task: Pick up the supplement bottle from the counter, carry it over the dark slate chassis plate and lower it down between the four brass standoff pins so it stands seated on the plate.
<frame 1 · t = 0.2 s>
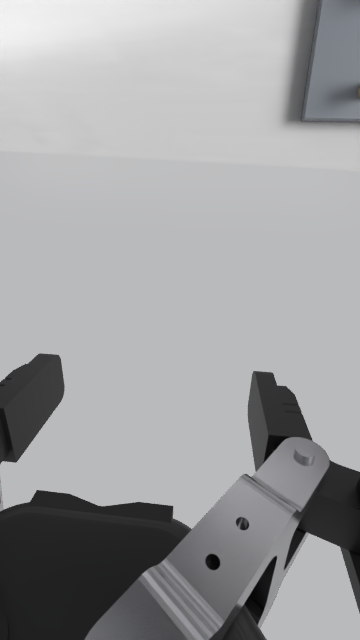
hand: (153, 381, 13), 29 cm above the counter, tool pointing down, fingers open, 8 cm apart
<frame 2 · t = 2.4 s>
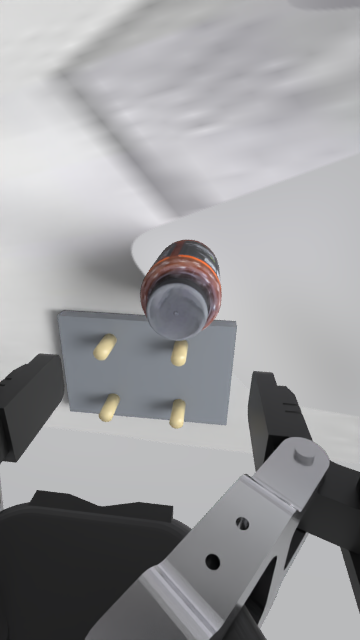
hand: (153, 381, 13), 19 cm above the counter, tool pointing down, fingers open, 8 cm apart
supplement bottle: (188, 269, 30), on the counter
chassis plate: (148, 365, 35), on the counter
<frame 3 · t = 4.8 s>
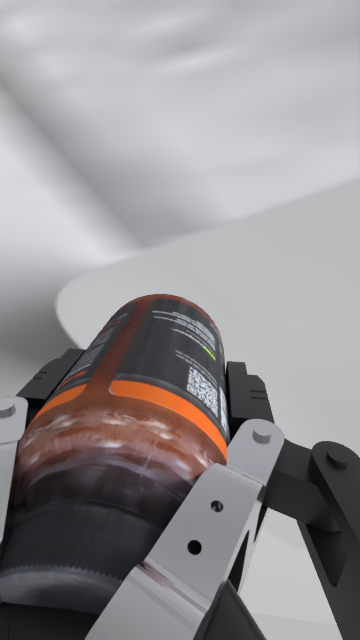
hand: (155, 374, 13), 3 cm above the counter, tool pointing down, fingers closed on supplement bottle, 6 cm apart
supplement bottle: (165, 344, 16), on the counter, touching gripper
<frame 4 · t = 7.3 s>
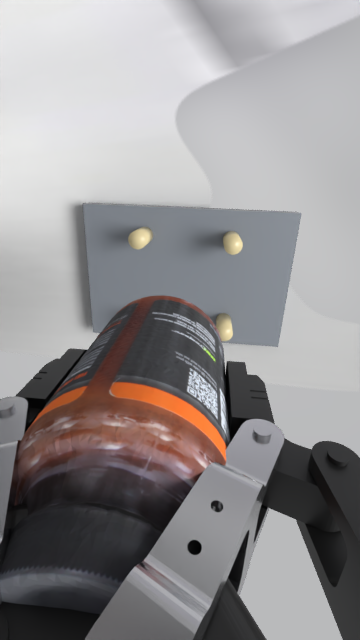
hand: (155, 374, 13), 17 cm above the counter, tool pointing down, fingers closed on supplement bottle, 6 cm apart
supplement bottle: (165, 345, 16), point 15 cm above the counter, touching gripper
chassis plate: (187, 275, 29), on the counter
when the fingers open (5 cm above the counter, at t = 10.0 s): supplement bottle stays where it is, resting on chassis plate.
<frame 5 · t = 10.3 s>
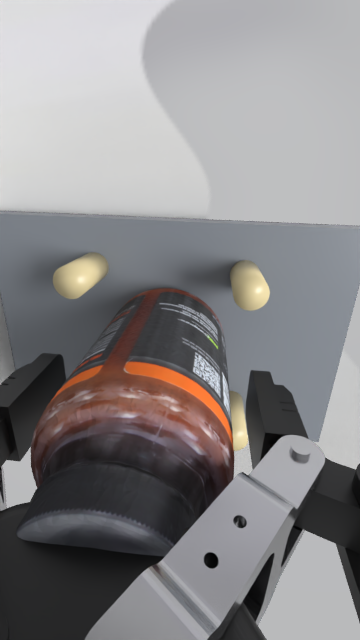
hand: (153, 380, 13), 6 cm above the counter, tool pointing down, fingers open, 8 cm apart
supplement bottle: (169, 336, 17), point 1 cm above the counter, touching chassis plate
chassis plate: (170, 326, 18), on the counter
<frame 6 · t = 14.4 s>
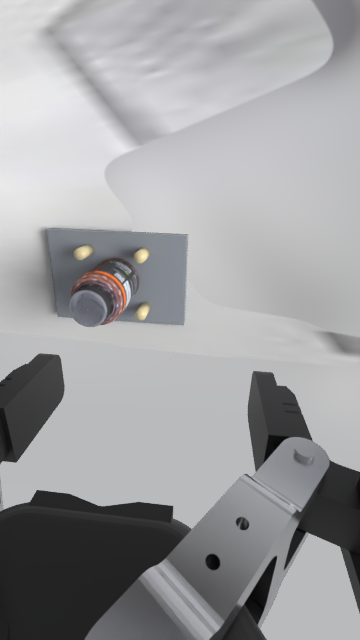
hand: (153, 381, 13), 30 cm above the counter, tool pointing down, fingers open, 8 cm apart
supplement bottle: (119, 278, 42), point 1 cm above the counter, touching chassis plate
chassis plate: (120, 276, 43), on the counter
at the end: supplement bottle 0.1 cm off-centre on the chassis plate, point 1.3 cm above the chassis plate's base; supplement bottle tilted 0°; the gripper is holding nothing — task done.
